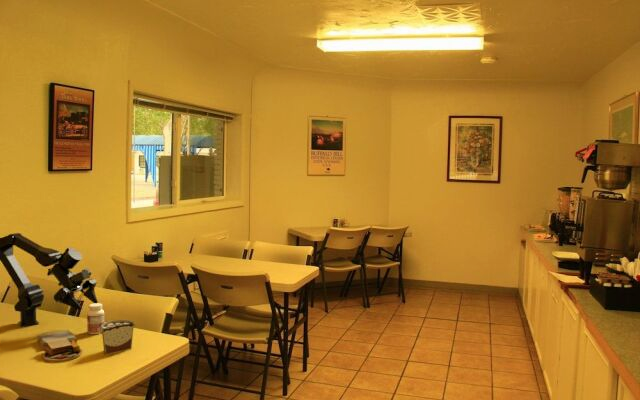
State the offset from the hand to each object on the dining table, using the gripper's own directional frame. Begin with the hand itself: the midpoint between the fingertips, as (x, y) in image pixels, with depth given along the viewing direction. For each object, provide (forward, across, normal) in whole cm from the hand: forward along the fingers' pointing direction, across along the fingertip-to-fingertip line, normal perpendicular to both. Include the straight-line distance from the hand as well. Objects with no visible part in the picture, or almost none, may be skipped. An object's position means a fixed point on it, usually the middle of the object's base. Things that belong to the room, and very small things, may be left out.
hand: (89, 306), depth 207 cm
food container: (+23, -14, -8) cm, 28 cm away
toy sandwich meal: (+13, -24, +2) cm, 28 cm away
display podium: (+5, -14, +9) cm, 18 cm away
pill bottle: (+10, 0, +5) cm, 11 cm away
